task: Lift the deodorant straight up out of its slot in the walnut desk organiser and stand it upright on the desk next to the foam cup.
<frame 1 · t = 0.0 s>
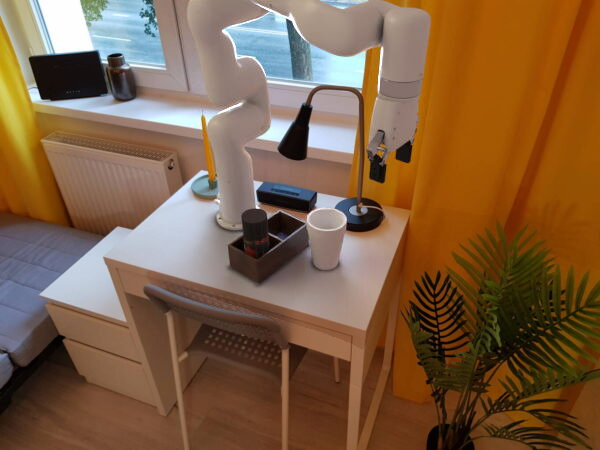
hand: (390, 170, 96), 31 cm above the table, tool pointing down, fingers open, 9 cm apart
deodorant: (258, 265, 121), resting in organiser
foam cup: (325, 262, 122), on the table
organiser: (270, 255, 124), on the table
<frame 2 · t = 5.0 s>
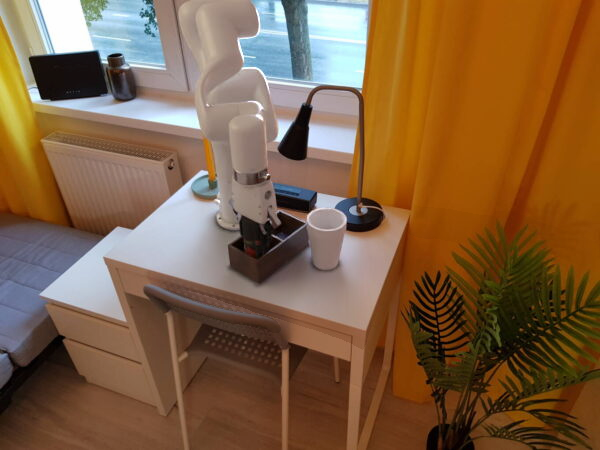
hand: (256, 237, 116), 9 cm above the table, tool pointing down, fingers closed on deodorant, 6 cm apart
deodorant: (258, 265, 121), resting in organiser, touching gripper
everything else where it was.
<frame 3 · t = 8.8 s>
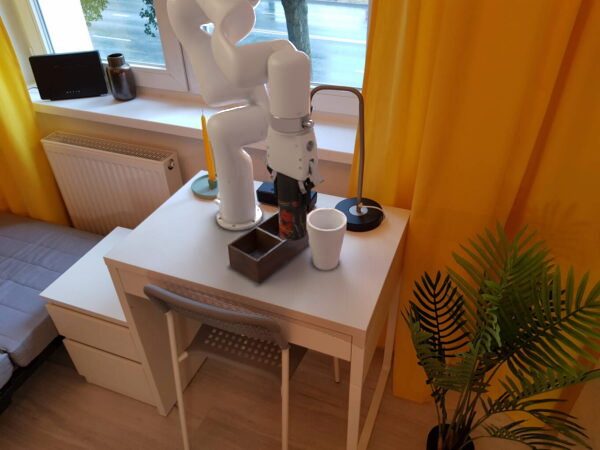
hand: (292, 199, 102), 23 cm above the table, tool pointing down, fingers closed on deodorant, 6 cm apart
deodorant: (293, 233, 107), point 14 cm above the table, touching gripper
everything else where it was.
when the fingers open (9 cm above the table, at t = 12.5 s): deodorant stays where it is, on the table.
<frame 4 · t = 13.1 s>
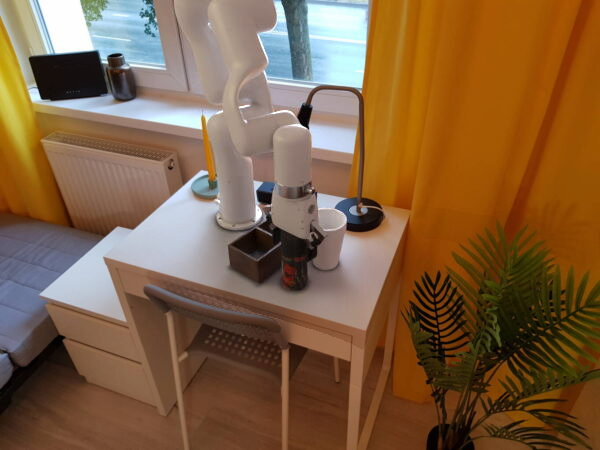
hand: (294, 250, 110), 10 cm above the table, tool pointing down, fingers open, 9 cm apart
deodorant: (295, 282, 116), on the table
everything else where it was.
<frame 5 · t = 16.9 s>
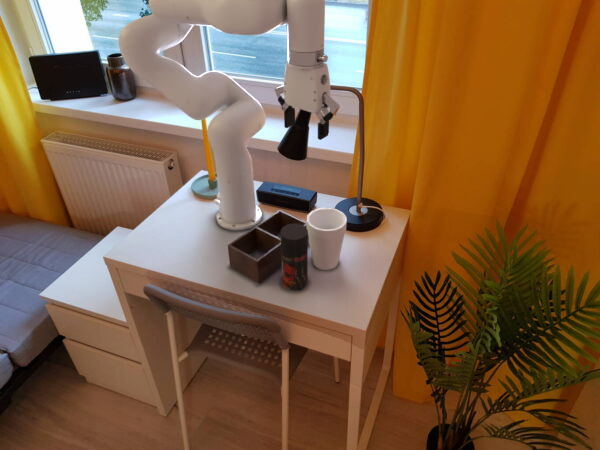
hand: (306, 131, 112), 30 cm above the table, tool pointing down, fingers open, 9 cm apart
nothing on the table moved.
at the end: deodorant inside the target area (0.1 cm from its centre), on the table; deodorant tilted 0°; deodorant 10.6 cm from the foam cup (horizontally) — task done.
